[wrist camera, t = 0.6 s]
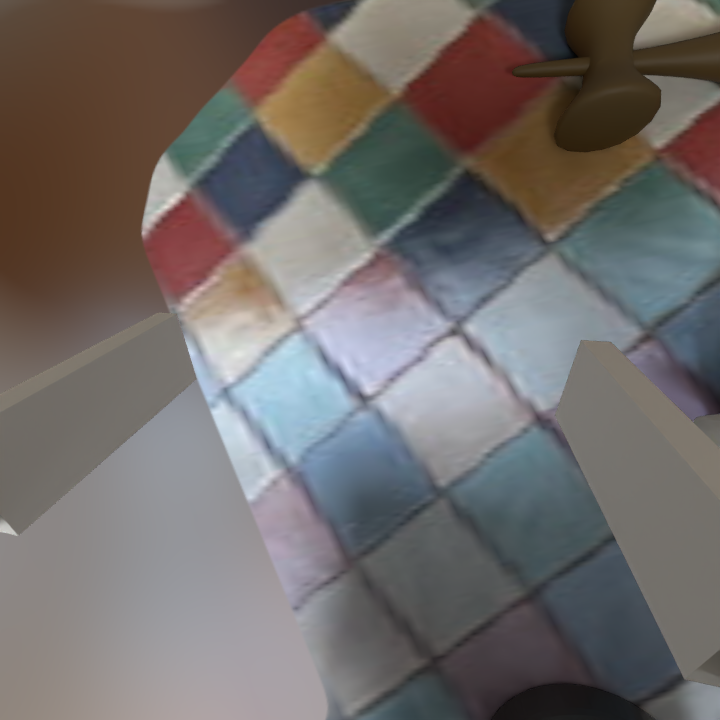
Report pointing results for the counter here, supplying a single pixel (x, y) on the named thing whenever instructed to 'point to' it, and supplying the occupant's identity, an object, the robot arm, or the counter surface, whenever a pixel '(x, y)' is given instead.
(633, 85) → the kendama
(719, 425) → the teacup
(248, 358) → the counter surface
